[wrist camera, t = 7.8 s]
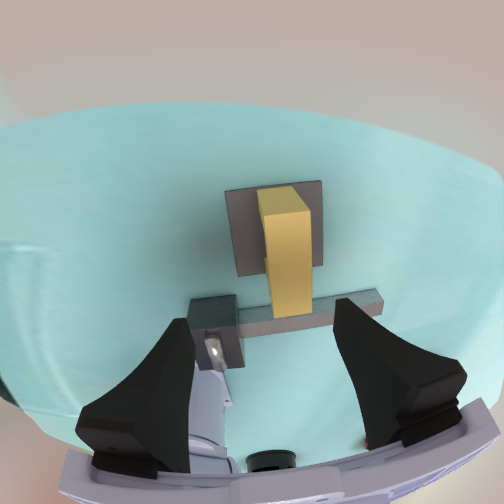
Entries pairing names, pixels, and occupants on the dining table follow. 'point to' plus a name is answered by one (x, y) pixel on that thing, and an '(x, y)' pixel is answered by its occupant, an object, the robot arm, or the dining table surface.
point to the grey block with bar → (256, 325)
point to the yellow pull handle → (287, 250)
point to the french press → (270, 461)
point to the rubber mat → (251, 228)
